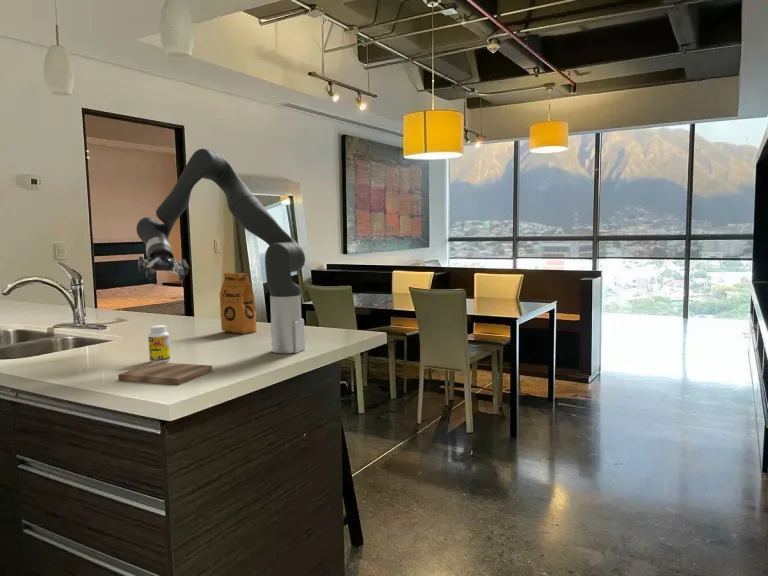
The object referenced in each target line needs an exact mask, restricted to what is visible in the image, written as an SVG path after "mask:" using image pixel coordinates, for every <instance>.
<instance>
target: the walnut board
mask: <svg viewBox="0 0 768 576" xmlns="http://www.w3.org/2000/svg"><path fill="white" fill-rule="evenodd" d="M211 372H213V365H208V364H196V363H195V364H194V363H193V364H192V363H176V362H175V363H174V362H162V363H161V362H154V363H153V362H151V363H149V364H146V365H142V366H140V367H136V368H133V369H130V370H128V371H125V372H124V371H123V372H122V373H119V374H117V379H118V381H122V382H133V383H134V382H135V383H137V382H138V383H150V384H151V383H152V384H165V385H167V384H168V385H177V386H180V385H183V384H184V383H187V382H189V381H191V380H195V379H196V378H200V377H202V376H204V375H206V374H209V373H211Z"/></svg>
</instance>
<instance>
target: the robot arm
mask: <svg viewBox="0 0 768 576" xmlns="http://www.w3.org/2000/svg"><path fill="white" fill-rule="evenodd" d="M202 179H205V180H209V181H212V182H214V183H215V184H216V185H217V186H218V187H219V188H220V189H221V190H222V192H223V193H224V195H225V197H226V203H227V207H228V210H229V212H230V213H231V214H232V216H233V217H234V219H235V220H236V221H237V222H238V224H240V226H241V227H242V228H243V229H244V230H246V231H248V232H249V233H251V234H252V235H254V236H255V237H257V238H259V239H261V240H262V241H263V242H265V243H266V244H267V245H268V246H267V249H266V251H265V255H264V265H265V266H264V267H265V276H266V277H265V278H266V285H267V288H268V290H269V302H270V306H269V307H270V331H271V351H272V353H275V354H297V353H300V352H301V351H304V350H306V342H305V341H306V340H305V339H306V338H305V336H306V335H305V334H306V333H305V320H304V318H302V302H301V301H302V297H301V295H302V294H301V286H300V285H299V284H297V283H295V282H294V281H293V279H292V273H294V272H298V271H300V270H302V268H303V267H304V265H305V263H306V262H305V261H306V255H305V253H304V252H305V251H304V250H303V248H302V247H301V246H300V244H299V243H298V242H297V241H296V240H295V239H293V237H291V235H290V234H289V233H287V232H286V231H285V230H284V229H283V228H282V226H280V224H279V223H278V222H277V221H276V219H275V218H274V217H273V216H272V215H271V214H270V213H269V212H268V210H267V209H266V207H265V206H264V205H263V203H262V202H261V201H260V200H259V199H258V198H257V196H256V195H255V194H254V193H253V192H252V190H250V188H248V186H247V185H246V184H245V183H244V181H242V180H241V178H240V177H239V176H238V173H237V172H236V171H235V169H234V167H233V166H232V165H231V163H230V162H229V160H228V159H227V157H226V156H224V155H223V154H222V153H220V152H217V151H214V150H210V149H208V148H199V149H197V150H195V152H194V153H193V154H192V155H191V156H190V158H189V160H188V162H187V163H186V165H185V167H184V168H183V171H182V172H181V174H180V176H179V177H178V180H177V181H176V183H175V185H174V187H172V190H171V191H170V193H168V195H167V196H166V198H165V199H164V200H163V201H162V202H161V203H160V205H159V206H158V207H157V209H156V210H155V215H156V217H157V218H158V219H159V221H158V220H155V218H152V217H149V216H146V217H143V218H141V219H139V221H138V222H137V224H136V234H137V236H138V238H139V239H140V240H141V242H142V243H144V245H145V254H146V257H147V259H144V257H143V256H139V257H138V262H137V264H138V265H137V266H138V267H137V268H138V273H140V274H143V273H145V274H146V275H145V276H146V278H147V279H149V281H153V276H154V273H155V272H158V271H160V272H161V271H165V272H169V273H171V274H174V275H177V276H178V280H179V282H182V281H183V280H185V276H188V275H189V269H190V266H189V264H188V262H187V260H186V259H185V258H182V259H181V260H177V259H175V256H174V253H173V251H172V247H171V245H170V243H169V241H168V240H169V237H170V235H171V232H172V229H173V227H174V226H175V223H176V222H177V220H178V219H179V218H180V216H181V215H182V214H183V213H184V212H185V210H186V209H187V208H188V206H189V203H190V198H191V193H192V191H193V188H194V186H196V184H197V183H198V182H199V181H200V180H202ZM160 221H161V222H160Z"/></svg>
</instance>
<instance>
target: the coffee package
mask: <svg viewBox="0 0 768 576" xmlns="http://www.w3.org/2000/svg"><path fill="white" fill-rule="evenodd" d="M223 277H224V279H223V283H222V285H221V289H220V291H219V302H220V303H219V305H220V306H219V309H220V321H221V322H220V323H221V331H223V332H227V333H229V332H230V333H235V334H243V335H245V334H251V333H256V332H257V309H256V302H255V296H254V295H255V294H254V291H253V287H252V285H251V281H250V279H249V277H248V274H247V273H246V272H241V273H239V272H238V273H236V272H224V273H223ZM255 331H256V332H255Z"/></svg>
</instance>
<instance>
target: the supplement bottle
mask: <svg viewBox="0 0 768 576" xmlns="http://www.w3.org/2000/svg"><path fill="white" fill-rule="evenodd" d="M170 346H171V345H170V333H169V332H168V331H167V326H166V325H165V324H164V325H163V324H159V325H152V326H151V327H150V333H148V350H149V351H148V353H149V361H150V362H151V363H154V362H161V363H168V362H169V361H170V360H171V347H170Z"/></svg>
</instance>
